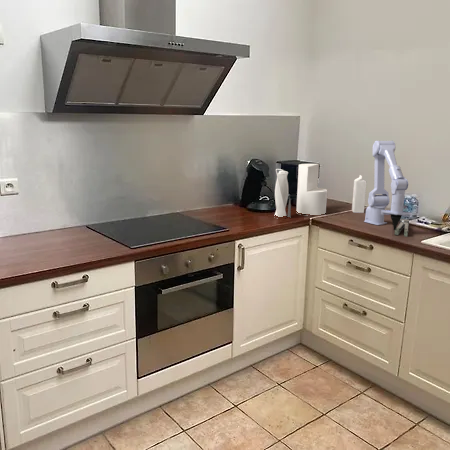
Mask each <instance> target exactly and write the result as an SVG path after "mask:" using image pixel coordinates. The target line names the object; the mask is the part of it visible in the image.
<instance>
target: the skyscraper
mask: <svg viewBox="0 0 450 450" xmlns="http://www.w3.org/2000/svg"><path fill="white" fill-rule="evenodd" d="M275 173H276V176H277V177H276V181H275V187H274V200H275V202H274V203H275V209H276V210H275V212H274V216H275V215H276V216H278V217H283V216H287V217H290V218H292V217H291V215H292V213H291V212H292V211H291V209H292V208H291V207H292V204H291V199H289V182H288V174H289V172H288V171H286V170H284V169H281V168H276V169H275ZM288 199H289V200H288ZM287 203H288V204H287ZM287 205H288V206H287ZM286 207H287V212H286Z"/></svg>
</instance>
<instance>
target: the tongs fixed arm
mask: <svg viewBox="0 0 450 450" xmlns="http://www.w3.org/2000/svg"><path fill="white" fill-rule="evenodd" d="M401 222H407V223H405V227H403V230H404V232H403V237H408V233H409V227H410V219H406V218H405V219H403V218H401V219H400V221H399V224H400V223H401Z"/></svg>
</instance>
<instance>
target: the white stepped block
mask: <svg viewBox="0 0 450 450" xmlns="http://www.w3.org/2000/svg"><path fill="white" fill-rule="evenodd" d="M319 168H320V164H319V163H301V164H300V163H299V164H298V170H297V171H298V173H297V174H298V175H297V191H296V194H297V195H296V211H297V212H298V213H302V214H310V215H321V214H325V213H327V200H328V199H327V198H328V189H327V188H323V187H318V184H319ZM297 212H296V213H297ZM298 213H297V214H298ZM325 215H326V214H325ZM321 216H322V215H321Z"/></svg>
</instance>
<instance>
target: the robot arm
mask: <svg viewBox="0 0 450 450" xmlns="http://www.w3.org/2000/svg"><path fill="white" fill-rule="evenodd" d="M395 151H396V142H395V141H394V140H375V141H374V143H373V144H372V157H374V165H373V166H374V169H373V170H374V175H373V177H374V180H373V181H374V183H373V185H374V187H373V189H372V190H371V191H370V192H368V198H367V204H368V206H367V207H366V209H365V216H364V217H365V218H364V221H363V222H364V223H367V224H372V225H376V226H382V225H386V224H388V222H385V215H386V216H390V219H391V222H392V225H393V231H395V229H396V228H397V227H398V226H399V223H400V220H401V219H402V217H407V218H408V217H409V218H412V217H413V212H410V211H404V205H405V204H404V203H405V195H406V190H407V189H408V188H409V181H408V179H407V178H406V177H405V176H404V175H403V172H402V169H401V167H400V165H397V164H398V163H397V159H396V156H395V155H396V154H395ZM385 160H386V162H385ZM385 163H387V164H388V166H389V168H388V173H389V177H390V180H391V183H390V189H391V190H390V191H391V203H390V197H389V191H387V190H386V189H385V166H386V165H385ZM389 204H390V210H389V209H386V208H387V207H388V206H389Z"/></svg>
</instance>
